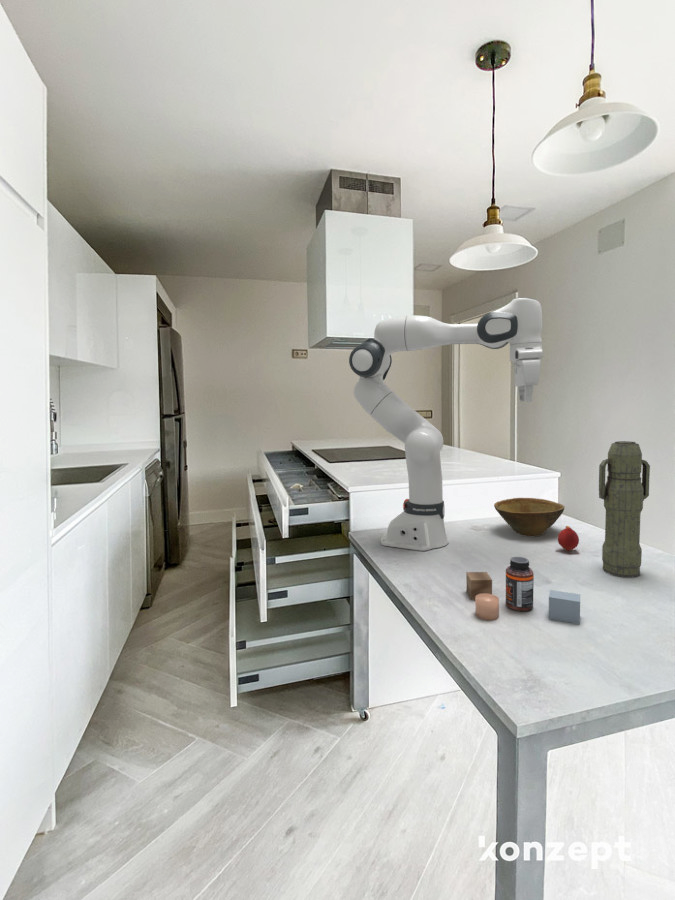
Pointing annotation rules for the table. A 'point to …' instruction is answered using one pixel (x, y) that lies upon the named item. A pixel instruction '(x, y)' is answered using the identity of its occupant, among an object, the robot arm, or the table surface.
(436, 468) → the robot arm
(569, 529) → the onion
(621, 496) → the thermos
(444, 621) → the table surface
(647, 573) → the table surface
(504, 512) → the bowl
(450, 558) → the table surface
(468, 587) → the walnut cube
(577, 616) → the slate block
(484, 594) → the peach rounded cylinder
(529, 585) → the supplement bottle
